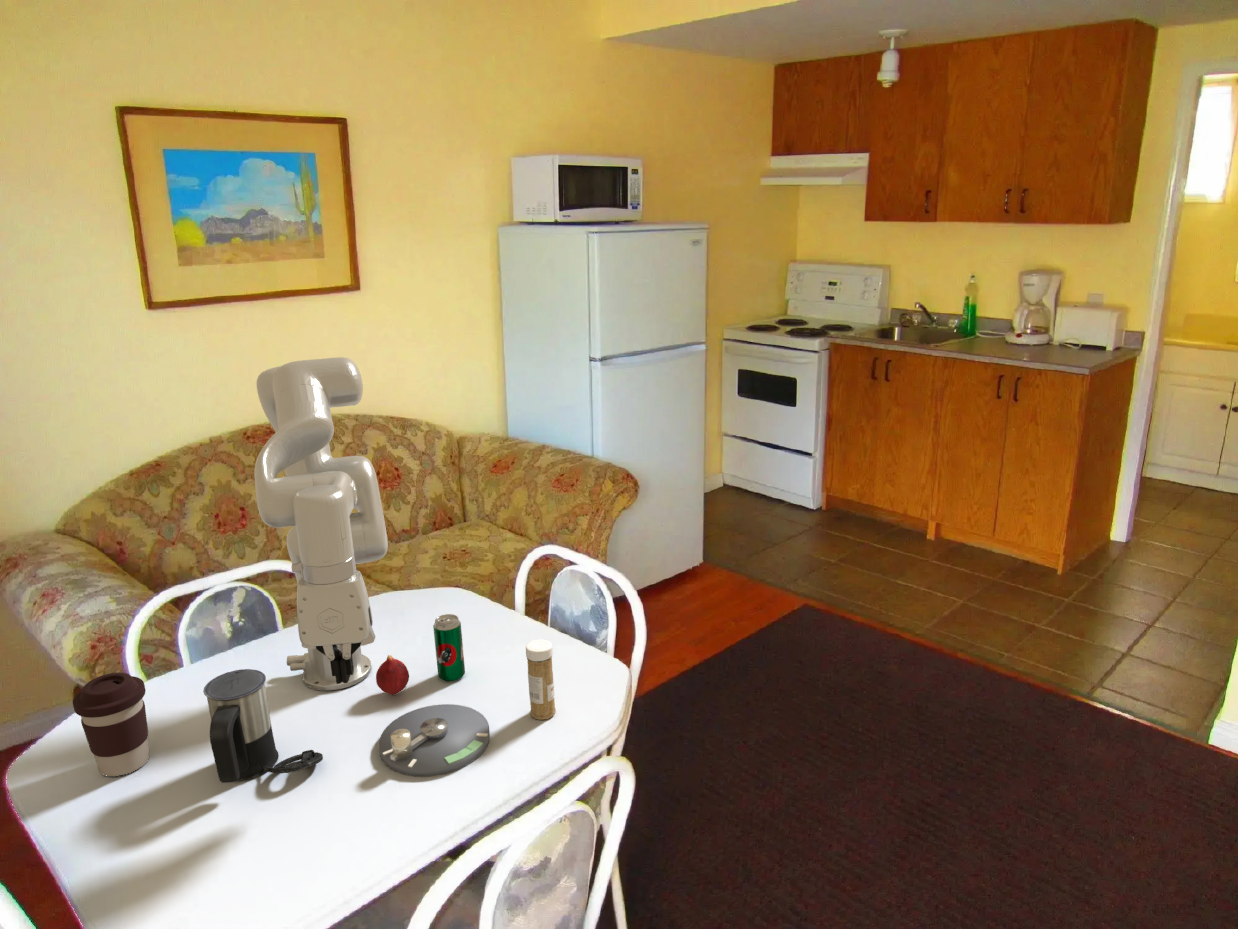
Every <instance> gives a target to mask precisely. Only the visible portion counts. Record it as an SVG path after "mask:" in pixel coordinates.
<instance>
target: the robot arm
mask: <svg viewBox="0 0 1238 929" xmlns="http://www.w3.org/2000/svg"><path fill="white" fill-rule="evenodd" d="M363 385H364V384H363V379H362V375H361V372H360V370H359V367H358V366H357V364H356V363H355V361H354V360H352V359H351V358H349V357H344V356H342V357H340V356H339V357H338V356H337V357H328V358H316V359H304V360H296V361H290V362H287V363H284V364H283V365H280V366H274V367H271V368H269V369H266V370H263V371H262V372H261V373H260V374H259V375H258V377H257V379H256V390H257V391H256V392H257V395H258V399H259V402H260V405H261V409H262V410H263V412H264V414H265V416H266V419H267V420H268V422H269V423H270V425H271V427H272V429H273V431H274V432H275V433H273V435H272V436H271V437H270V438H269V439H267V441H266V442H265V444H264V446H263V447H262V448H261V450H260V451H259V453H258V455H257V457H256V461H255V464H254V472H253V473H254V474H253V476H254V485H255V494H256V495H255V496H256V504H257V510H258V513H259V517H260V519H261V520H262V521H263V523H264V524H265V525H267V526H269V527H271V528H274V529H275V528H279V529H280V528H281V529H282V528H288V527H290V529H289V530H288V533H287V535H286V548H287V551H288V556H289V559H290V562H291V572H292V573H294V575H295V579H296V583H297V586H296V587H297V589H296V612H297V613H296V614H297V615H296V616H297V628H298V630H297V631H298V637H299V638H298V639H299V640H300V643H301V646H302V648H303V649H307V652H304V654H303V655H302V654H301V655H297V654H296V655H295V654H294V655H292V654H291V655H288V656H287V657H286V665H287V667H289V670H290V671H291V672H292V671H293V672H294V671H303V672H302V681H303V684H305V686H306V687H308V688H310V689H312V690H315V691H327V692H328V691H337V690H342V689H343V690H344V689H346V688H350V687H352V686H354V685H357V684H358V683H360V682H361V681H364V679H365V678H367V677H368V676H369V675H370V673H371V671H372V661H371V660H370V658H369V657H368V656H366V655H364V654H362V648H361V647H362V646H367V645H370V644H372V643H374V642H375V640H376V634H375V631H374V629H373V614H372V609H371V608H372V607H371V604H370V599H369V594H368V590H367V587H366V583H365V581H364V577H363V575H362V572H361V571H360V570H357V566H356V565H360V564H367V563H371V562H377V561H379V560H381V559H383V558H384V557H385V555H386V554H387V552H388V548H389V547H388V535H387V529H386V522H385V517H384V510H383V505H382V500H381V499H382V498H381V493H380V486H379V482H378V481H379V480H378V477H377V473H376V470H375V468H374V465H373V463H372V461H370V459H368V458H367V457H366V456H362V455H349V456H347V455H346V456H340V457H333V456H332V452H331V446H330V442H331V440H332V439H333V437H334V433H335V427H334V426H335V425H334V422H333V417H332V412H331V409H332V408H342V407H351V406H357V405H359V403H360V402H361V400H362V398H363V394H364V393H363V391H364V387H363ZM283 471H284V476H282V477H278V475H279V474H281V472H283ZM354 509H355V510H356V511H357V512H354V511H353V510H354Z"/></svg>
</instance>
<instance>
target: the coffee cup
mask: <svg viewBox="0 0 1238 929" xmlns="http://www.w3.org/2000/svg"><path fill="white" fill-rule="evenodd" d="M145 686H146V685H145V681H143V679H142V678H140V677H139V676H134V675H133V676H132V675H130V674H129V673H125V672H111V673H105V674H103V675H100V676H96V677H94V678H93V679H91V680H89V681H88V682H87V683H86V684H84V685H83V687H82V689H81V690H80V691H79V692H77V693H76V695H75V696H74V697H73V699H72V707H73V710H74V713H75V714H76V715H78V716H80V717H81V719H80V722H81V725H82V730H83V732H84V735H85V738H86V741H87V744H88V747H89V750H90V752H91V754H92V755H93V756H94V759H95V763H96V766H97V770H98V771H99V773H100V774H101V773H102V774H104V775H107V776H106V777H108V776H118V777H120V776H119V775H123V774H126V775H128V774H127V773H129V774H131V772H132V773H134V772H136V771H138V770H140V769H141V768H142V767H144V765H145V764H147V762H148V761H149V758H150V748H149V740H148V737H149V727H148V721H147V713H146V712H147V710H146V705H145V701H144V699H143V698H144V696H145V695H146V687H145ZM147 760H148V761H147ZM140 767H141V768H140ZM137 769H138V770H137ZM135 770H136V771H135ZM133 771H134V772H133ZM102 774H101V775H102ZM104 775H103V776H104ZM123 776H124V775H123Z"/></svg>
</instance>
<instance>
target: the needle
mask: <svg viewBox="0 0 1238 929" xmlns="http://www.w3.org/2000/svg"><path fill="white" fill-rule="evenodd" d="M420 729H421V735H420V736H418V737H417V738H415V739H414V740H412V741H411V736H410V731H409V730H407V729H398V730H395V731H394V732H392V734H391V743H392V751H393V754H392V755H390V758H391V760H393V761H397V760H398V759H399V760H401V759H406V758H408V757H410V756H411V754H412V750H413V749H414V748H416V747H417V746H419V745H420V744H422V743H423V742H424V741H426V740H427V739H428V740H435V739H439V738H441V737H443V736H445V735H446V734H447V732H448V725H447V721H446V720H444V719H441V718H432V719H429V720H426V721H425V722H423V723H422V724H421V726H420Z"/></svg>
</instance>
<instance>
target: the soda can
mask: <svg viewBox="0 0 1238 929" xmlns="http://www.w3.org/2000/svg"><path fill="white" fill-rule="evenodd" d="M432 627H433V637H434V648H435V657H436V666H437V677H438V678H439V679H440V680H441V681H443V682H447V683H450V682H451V683H452V682H453V683H454V682H456V681H459V680H461V679H462V678H463V677H464V676H465V674H466V668H465V667H466V666H465V657H464V656H465V655H464V647H463V646H464V644H463V633H462V623H461V621H460V619H459V616H458V615H456V614H452V613H450V614H449V613H446V614H442V615H438V616H437V617H436V618H435V620H434V624H433V625H432Z"/></svg>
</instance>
